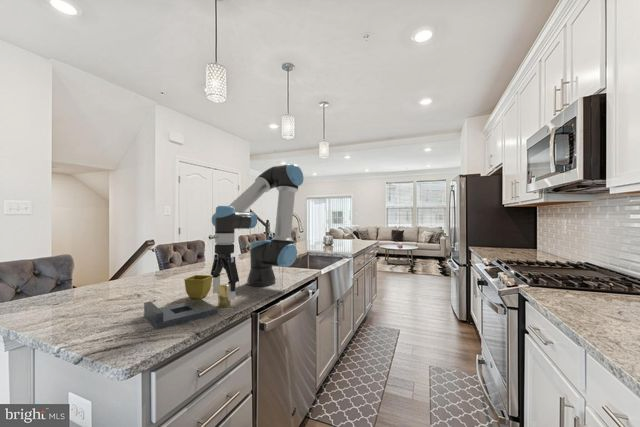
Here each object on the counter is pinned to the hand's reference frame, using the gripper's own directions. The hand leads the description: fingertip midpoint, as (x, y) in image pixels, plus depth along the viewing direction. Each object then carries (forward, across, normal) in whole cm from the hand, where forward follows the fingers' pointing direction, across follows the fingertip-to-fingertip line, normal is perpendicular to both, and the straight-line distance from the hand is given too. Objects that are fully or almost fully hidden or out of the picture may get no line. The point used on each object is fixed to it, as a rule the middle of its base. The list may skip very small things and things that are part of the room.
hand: (223, 296), depth 108 cm
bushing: (+4, 0, 0) cm, 4 cm away
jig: (+4, -1, -16) cm, 16 cm away
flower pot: (+4, -19, -2) cm, 20 cm away
